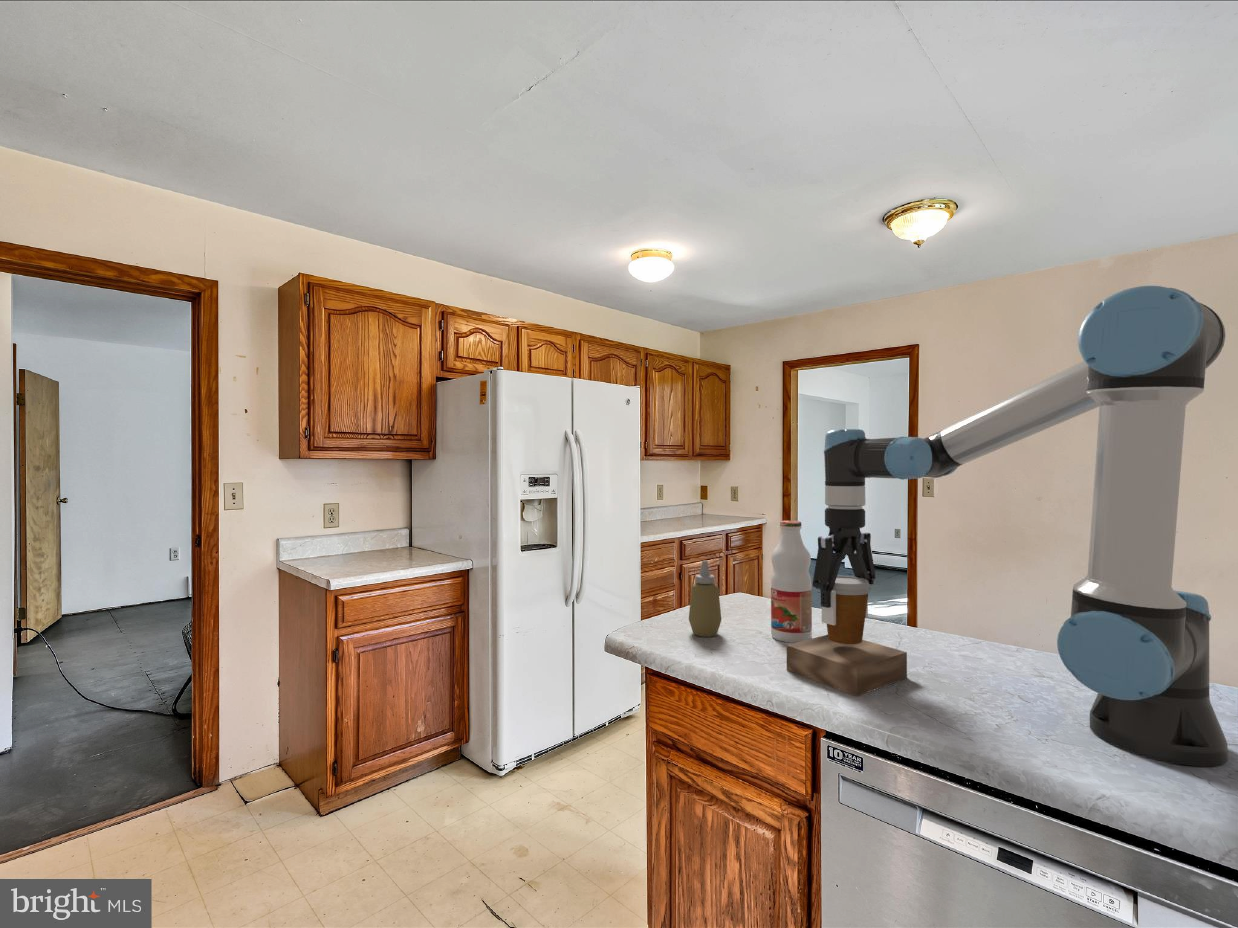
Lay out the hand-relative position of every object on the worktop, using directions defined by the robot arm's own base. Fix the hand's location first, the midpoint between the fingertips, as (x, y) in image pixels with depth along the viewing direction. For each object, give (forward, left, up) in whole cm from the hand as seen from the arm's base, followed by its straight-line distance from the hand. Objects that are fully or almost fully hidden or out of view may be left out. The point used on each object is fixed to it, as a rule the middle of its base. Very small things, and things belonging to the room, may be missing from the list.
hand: (845, 619), depth 115 cm
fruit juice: (+22, -10, -11) cm, 27 cm away
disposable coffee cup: (0, 0, -4) cm, 4 cm away
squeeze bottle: (+36, +5, -11) cm, 38 cm away
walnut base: (0, 0, -11) cm, 11 cm away
